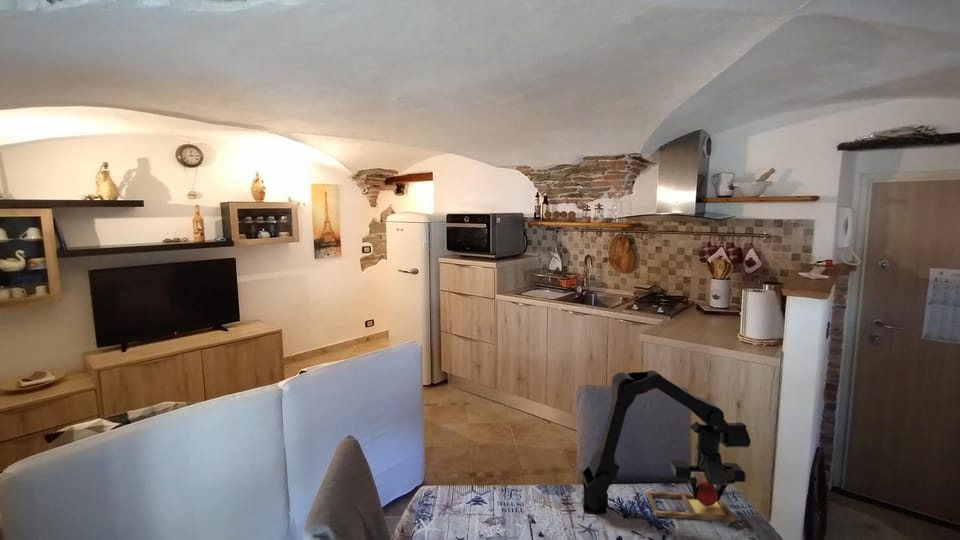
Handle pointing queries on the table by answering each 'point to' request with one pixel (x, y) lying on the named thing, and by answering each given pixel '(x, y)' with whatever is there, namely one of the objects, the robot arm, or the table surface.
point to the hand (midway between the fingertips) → (706, 499)
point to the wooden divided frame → (692, 508)
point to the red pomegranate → (706, 493)
